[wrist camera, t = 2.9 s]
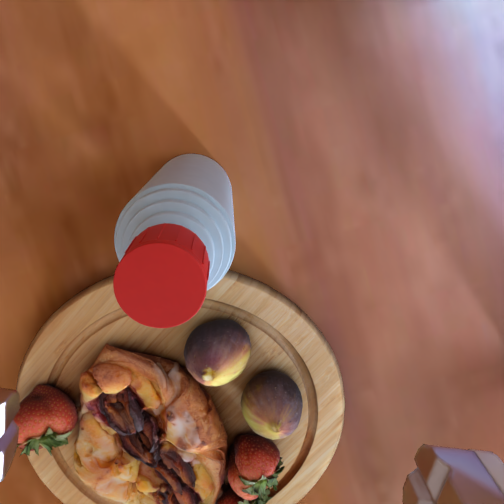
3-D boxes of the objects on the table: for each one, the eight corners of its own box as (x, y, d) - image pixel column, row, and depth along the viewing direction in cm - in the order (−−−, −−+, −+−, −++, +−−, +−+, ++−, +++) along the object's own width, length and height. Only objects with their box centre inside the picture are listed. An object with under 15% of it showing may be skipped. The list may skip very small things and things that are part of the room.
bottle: (225, 235, 42) (226, 359, 22) (149, 224, 41) (78, 341, 21) (237, 160, 40) (250, 220, 20) (157, 147, 39) (87, 195, 19)
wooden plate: (-20, 471, 48) (-68, 543, 40) (91, 200, 40) (59, 225, 32) (253, 560, 54) (258, 638, 46) (398, 340, 46) (434, 390, 38)
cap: (203, 304, 24) (200, 334, 21) (124, 293, 23) (108, 323, 20) (214, 229, 23) (213, 249, 20) (131, 216, 22) (116, 235, 19)
